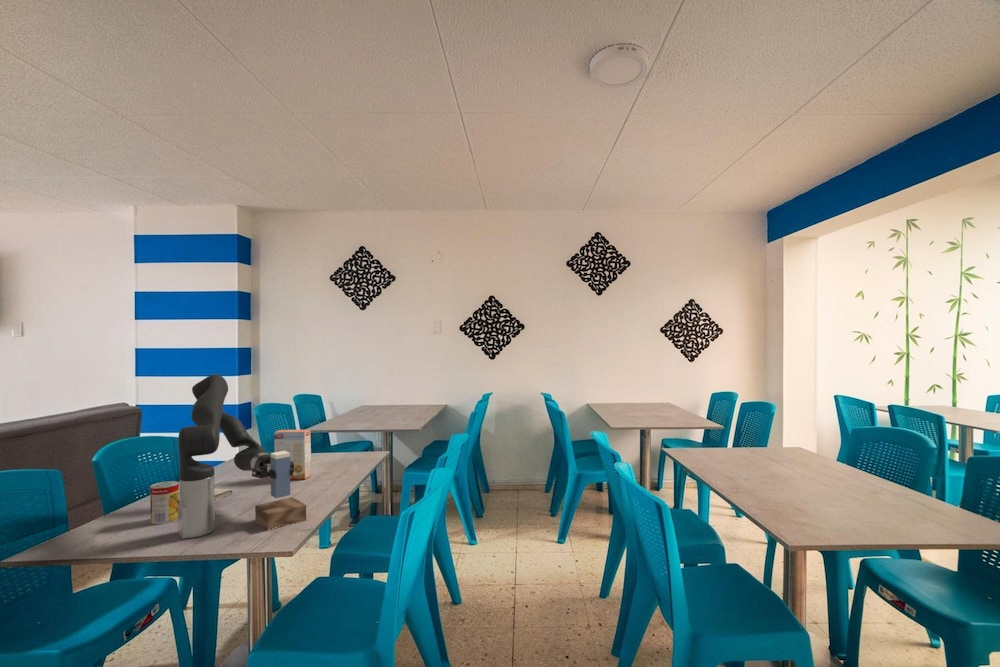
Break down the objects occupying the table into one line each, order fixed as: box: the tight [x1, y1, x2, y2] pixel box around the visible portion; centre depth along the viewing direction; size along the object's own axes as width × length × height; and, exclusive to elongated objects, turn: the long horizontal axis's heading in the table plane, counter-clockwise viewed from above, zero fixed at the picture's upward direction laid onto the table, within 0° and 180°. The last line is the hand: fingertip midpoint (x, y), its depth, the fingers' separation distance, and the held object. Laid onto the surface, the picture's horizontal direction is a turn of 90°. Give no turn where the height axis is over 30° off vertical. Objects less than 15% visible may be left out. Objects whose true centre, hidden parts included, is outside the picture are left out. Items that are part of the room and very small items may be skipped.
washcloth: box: [179, 487, 234, 503], centre depth 182 cm, size 12×18×3 cm, turn 162°
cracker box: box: [273, 429, 312, 480], centre depth 210 cm, size 14×6×21 cm, turn 84°
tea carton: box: [270, 451, 291, 499], centre depth 160 cm, size 5×5×14 cm
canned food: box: [149, 480, 180, 525], centre depth 162 cm, size 8×8×12 cm
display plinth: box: [254, 497, 307, 530], centre depth 159 cm, size 12×12×5 cm
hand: (283, 474), depth 158 cm, fingers closed on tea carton, 4 cm apart
